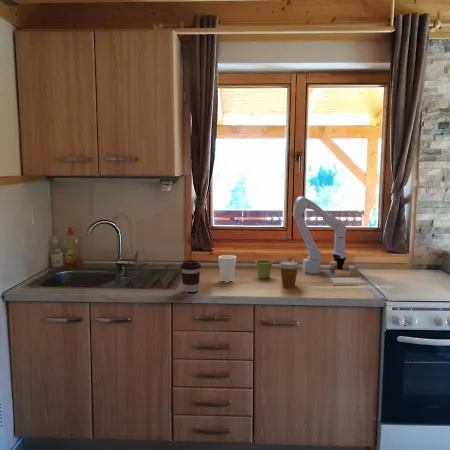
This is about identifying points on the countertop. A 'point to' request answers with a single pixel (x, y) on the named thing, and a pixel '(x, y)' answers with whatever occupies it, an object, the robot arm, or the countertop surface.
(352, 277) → the board
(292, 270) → the disposable coffee cup
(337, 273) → the tile
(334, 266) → the block
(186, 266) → the coffee cup
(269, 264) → the plant pot
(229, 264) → the foam cup
